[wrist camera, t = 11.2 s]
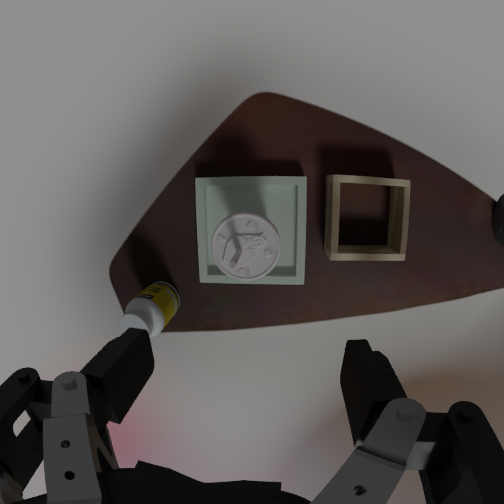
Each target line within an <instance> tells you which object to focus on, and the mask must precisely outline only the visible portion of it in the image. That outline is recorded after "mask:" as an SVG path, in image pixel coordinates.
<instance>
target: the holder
mask: <svg viewBox="0 0 504 504" xmlns="http://www.w3.org/2000/svg"><path fill="white" fill-rule="evenodd" d="M340 182H342V183H360V184H375V185H388V186H390V205H389V224H388V237H387V246H374V245H338V236H339V211H340ZM409 206H410V180H401V179H390V178H379V177H366V176H351V175H326V209H325V239H324V252H325V253H326V255H327V256H328V258H329V259H330V260H366V261H405V254H406V245H407V235H408V222H409Z"/></svg>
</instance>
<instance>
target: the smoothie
mask: <svg viewBox="0 0 504 504" xmlns="http://www.w3.org/2000/svg"><path fill="white" fill-rule="evenodd" d="M280 251H281V239H280V235H279V233H278V230H277V228H276V227H275V226H274V224H273V223H272V222H271V221H270V220H269V219H268V218H266V217H265V216H264V215H261V214H259V213H256V212H252V211H240V212H235V213H233V214H230V215H228V216H227V217H226V218H224V219H223V220H222V221H221V222H220V223H219V225H218V226H217V227H216V229H215V230H214V232H213V235H212V239H211V253H212V257H213V259H214V262H215V263H216V265H217V266H218V268H219V269H220V270H221V271H222V272H223V273H225V274H226V275H227V276H229V277H231V278H234V279H237V280H241V281H252V280H256V279H259V278H262V277H263V276H265V275H267V274H268V273H269V272H270V271H271V270H272V269H273V268H274V267H275V265H276V263H277V261H278V259H279V256H280Z"/></svg>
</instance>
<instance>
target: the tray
mask: <svg viewBox="0 0 504 504" xmlns="http://www.w3.org/2000/svg"><path fill="white" fill-rule="evenodd" d="M195 184H196V216H197V238H198V257H199V273H200V282H204V283H239V284H304V270H305V244H306V190H307V177H297V176H241V177H209V178H195ZM240 211H252V212H256V213H259V214H261V215H264V216H265V217H266V218H268V219H269V220H270V221H271V222H272V223H273V224H274V226H275V227H276V228H277V230H278V233H279V235H280V239H281V251H280V256H279V259H278V261H277V263H276V265H275V267H274V268H273V269H272V270H271V271H270V272H269V273H268V274H267V275H265V276H263V277H262V278H259V279H256V280H252V281H241V280H237V279H234V278H231V277H229V276H227V275H226V274H225V273H223V272H222V271H221V270H220V269H219V268H218V266H217V265H216V263H215V262H214V259H213V257H212V253H211V239H212V235H213V232H214V230H215V229H216V227H217V226H218V225H219V223H220V222H221V221H222V220H223V219H224V218H226V217H227V216H228V215H230V214H233V213H235V212H240Z"/></svg>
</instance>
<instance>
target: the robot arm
mask: <svg viewBox="0 0 504 504" xmlns="http://www.w3.org/2000/svg"><path fill="white" fill-rule="evenodd" d="M493 230H494V234H495V237H496V239H497V241H498V243H499V244H501V245H502V246H504V194H503V195H502V196H501V197H500V198H499V200H498V201H497V204H496V206H495V210H494V215H493ZM153 370H154V357H153V352H152V347H151V342H150V337H149V333H148V331H147V330H146V329H139V328H132V327H130V328H128V329H127V330H126V331H125V332H124V333H123V334H122V335H121V336H120V337H117V338H115V339H113V340H112V341H109V342H108V343H107V344H106V345H105V346H104V347H103V348H102V350H100V351H99V352H98V353H97V355H95V356H94V357H93V358H92V359H91V360H90V362H89V363H87V364H86V366H85V367H84V368H83V369H82V370H81V371H80V372H74V371H70V372H65V373H62V374H60V375H59V376H57V377H56V378H55V380H54V381H46V380H41V379H40V377H39V375H38V372H37V371H36V370H35V369H33V368H22V369H19V370H17V371H16V372H14V373H13V374H12V375H11V376H10V377H9V378H8V379H7V380H6V381H5V382H4V383H3V384H2V385H1V386H0V504H386V503H387V501H388V499H389V498H390V496H391V494H392V493H393V491H394V489H395V487H396V486H397V484H398V482H399V480H400V478H401V476H402V474H403V472H404V470H405V469H406V470H418V471H419V474H420V478H421V482H422V486H423V490H424V495H425V499H426V504H504V450H503V448H502V446H501V444H500V442H499V440H498V439H497V437H496V435H495V433H494V431H493V429H492V427H491V426H490V424H489V422H488V420H487V419H486V417H485V415H484V413H483V412H482V410H481V409H480V408H479V407H478V406H477V405H476V404H474V403H472V402H468V401H460V402H457V403H454V404H453V405H452V406H451V407H450V409H449V411H448V413H431V412H426V411H425V409H424V407H423V406H422V405H421V404H420V403H419V402H417V401H415V400H413V399H409V398H407V396H406V394H405V392H404V390H403V388H402V386H401V383H400V382H399V380H398V378H397V376H396V375H395V372H394V370H393V368H392V366H391V364H390V362H389V360H388V359H387V357H386V356H384V355H383V354H382V353H381V352H379V351H372V349H371V347H370V345H369V343H368V341H367V340H366V339H362V340H348V341H347V343H346V347H345V353H344V358H343V364H342V369H341V374H340V384H341V389H342V393H343V397H344V401H345V405H346V410H347V415H348V419H349V423H350V428H351V433H352V438H353V441H354V447H357V448H356V449H355V450H354V451H353V453H352V454H351V455H350V457H349V458H348V459H347V461H346V462H345V463H344V465H343V466H342V467H341V468H340V470H339V471H338V472H337V473H336V475H335V476H334V477H333V478H332V479H331V481H330V482H329V483H328V484H327V485H326V486H325V488H324V489H323V490H322V491H321V492H320V493H319V494H318V496H317V497H316V498H315V499H314V500H313V501H312V502H310V501H309V500H307V499H305V498H303V497H300V496H298V495H295V494H292V493H289V492H285V491H281V482H263V481H247V480H241V481H230V482H215V483H203V482H200V481H197V480H195V479H192V478H190V477H188V476H185V475H183V474H181V473H179V472H176V471H174V470H172V469H170V468H165V467H161V466H157V465H153V464H150V463H146V462H143V461H138V462H137V464H136V466H135V468H121V469H120V468H119V466H118V463H117V461H116V457H115V453H114V450H113V446H112V442H111V438H110V435H109V430H108V428H107V426H106V424H107V423H108V422H109V421H112V422H114V423H118V424H120V423H121V422H122V420H123V418H124V417H125V415H126V414H127V412H128V411H129V409H130V407H131V406H132V404H133V403H134V401H135V400H136V398H137V397H138V395H139V393H140V392H141V390H142V389H143V387H144V386H145V384H146V382H147V381H148V379H149V378H150V376H151V375H152V373H153ZM24 410H26V412H27V414H28V415H29V417H30V419H31V420H30V421H29V422H28V423H27V425H26V426H25V427H24V428H23V430H22V431H21V432H20V433H19V435H18V436H17V437H16V435H15V434H14V432H13V424H14V422H15V421H16V420H17V418H18V417H19V416H20V415H21V414H22V412H23V411H24ZM43 459H44V469H45V470H44V471H45V481H46V489H47V493H46V494H43V495H39V496H36V497H32V498H29V499H25V500H24V499H23V498H22V497H23V491H24V489H25V487H26V486H27V484H28V483H29V481H30V479H31V478H32V476H33V475H34V473H35V471H36V470H37V468H38V467H39V465H40V464H41V462H42V460H43Z"/></svg>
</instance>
